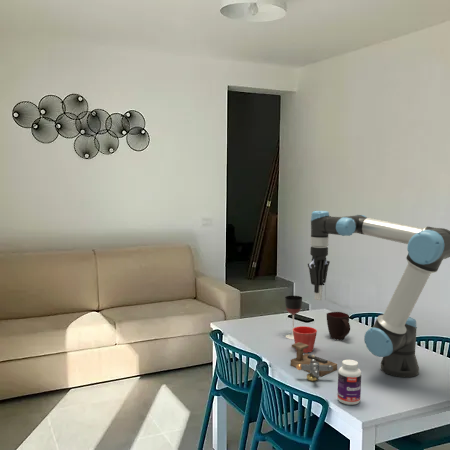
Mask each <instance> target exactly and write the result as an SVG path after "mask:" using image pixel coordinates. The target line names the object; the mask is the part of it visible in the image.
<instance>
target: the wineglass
mask: <svg viewBox="0 0 450 450" xmlns="http://www.w3.org/2000/svg"><path fill="white" fill-rule="evenodd" d="M284 299H285V300H284V302H285V303H284V304H285V309H286V311H287V312H288V313H289V314H290V315H292V326H291V328H292V329H291V330H292V331H291V332H292V333H291V334H290V333H289V334H286V335H285V338H287V339H289V340H294V335H293V329H294V328H295V315H297V314H299V313H300V312H301V309H302V303H303V297H302V296H299V295H287V296H285V297H284Z"/></svg>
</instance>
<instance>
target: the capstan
mask: <svg viewBox="0 0 450 450" xmlns="http://www.w3.org/2000/svg"><path fill="white" fill-rule="evenodd" d="M295 368H296V370H297V371H304V370H310V372H309V373H307V374H306V379H307V380H308V381H311V382H316V381H318V380H319V379H320V376H319V371H332V370H333V366H332V365H319V362H316V360H315V359H311V361H310V364H297V366H296V367H295Z"/></svg>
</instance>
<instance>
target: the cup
mask: <svg viewBox="0 0 450 450" xmlns="http://www.w3.org/2000/svg"><path fill="white" fill-rule="evenodd" d="M326 324H327V330H328V334H329V337H330V338H331V339H332V340H335V341H340V340H341V341H342V340H344V339H345V337H347V335H349V333H350V331H351V324H350V316H349V314H348V313H345V312H342V311H331V312H327V313H326Z"/></svg>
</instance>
